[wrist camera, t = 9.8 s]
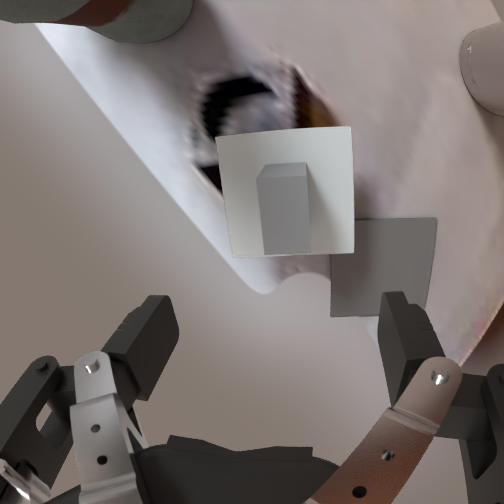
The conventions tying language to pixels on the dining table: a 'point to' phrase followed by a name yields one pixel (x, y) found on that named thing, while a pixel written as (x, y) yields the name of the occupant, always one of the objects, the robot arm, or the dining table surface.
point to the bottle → (105, 16)
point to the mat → (383, 265)
